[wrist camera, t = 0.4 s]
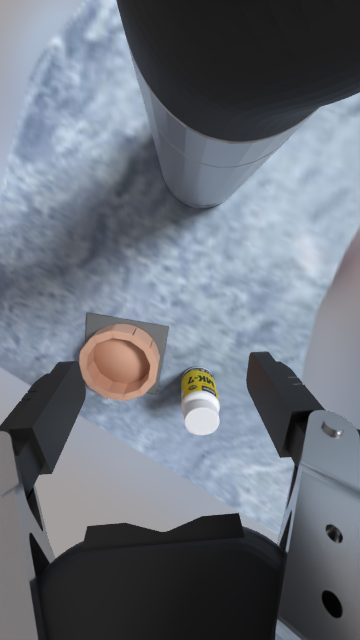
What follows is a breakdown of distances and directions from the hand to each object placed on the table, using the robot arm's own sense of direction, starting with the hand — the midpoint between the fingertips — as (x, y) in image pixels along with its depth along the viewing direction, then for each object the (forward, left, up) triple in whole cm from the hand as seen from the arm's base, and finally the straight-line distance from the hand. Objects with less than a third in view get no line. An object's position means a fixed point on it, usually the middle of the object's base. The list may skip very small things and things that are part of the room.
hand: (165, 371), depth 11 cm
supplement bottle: (+12, +5, -19) cm, 24 cm away
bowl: (+10, -6, -19) cm, 22 cm away
